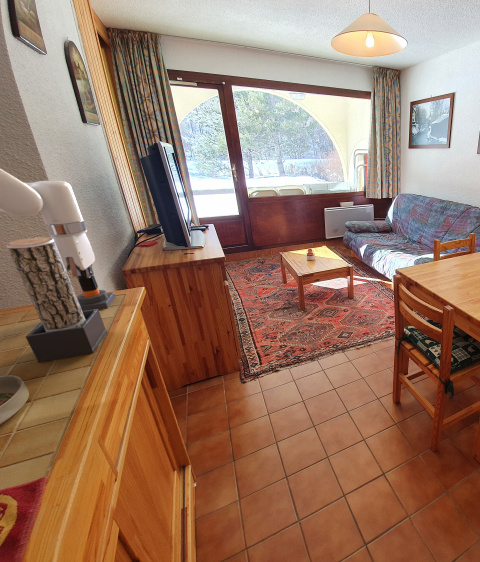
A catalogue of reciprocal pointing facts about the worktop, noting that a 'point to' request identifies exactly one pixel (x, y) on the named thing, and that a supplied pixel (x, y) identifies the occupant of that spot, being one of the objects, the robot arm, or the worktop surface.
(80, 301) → the block
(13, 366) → the worktop surface
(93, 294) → the release button
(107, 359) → the worktop surface
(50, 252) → the bark log cylinder
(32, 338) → the dock
